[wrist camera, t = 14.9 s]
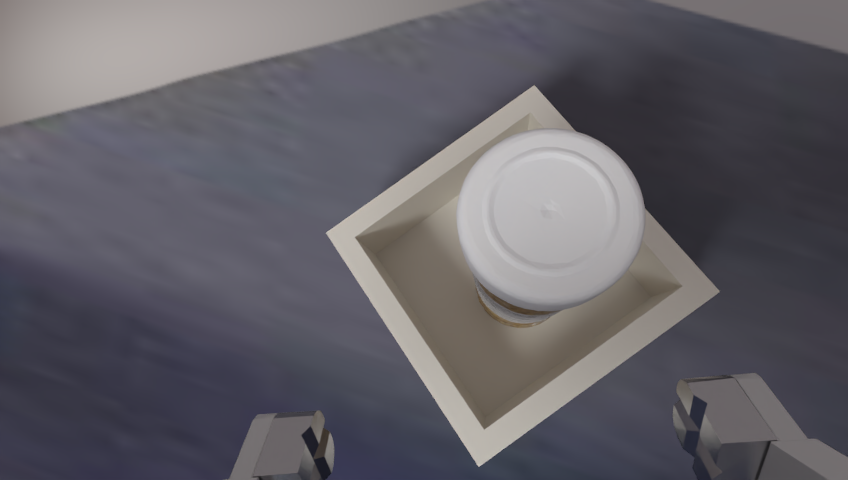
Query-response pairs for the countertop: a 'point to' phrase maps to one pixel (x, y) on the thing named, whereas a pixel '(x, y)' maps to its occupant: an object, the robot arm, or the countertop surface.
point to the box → (467, 319)
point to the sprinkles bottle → (547, 223)
